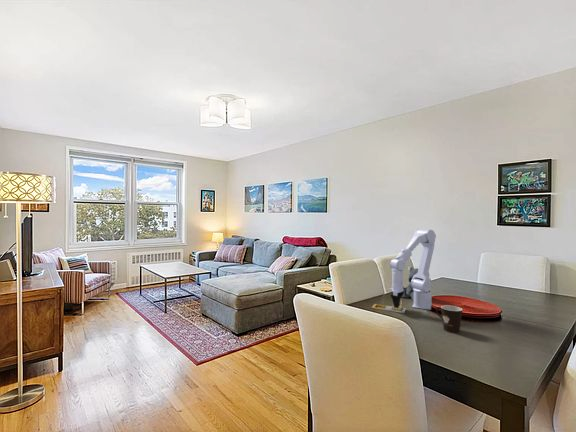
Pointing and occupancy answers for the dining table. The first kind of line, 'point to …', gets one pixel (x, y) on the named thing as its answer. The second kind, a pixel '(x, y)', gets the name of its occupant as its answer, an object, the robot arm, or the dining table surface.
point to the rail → (388, 308)
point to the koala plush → (409, 291)
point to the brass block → (399, 305)
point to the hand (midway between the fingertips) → (397, 305)
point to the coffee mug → (451, 318)
